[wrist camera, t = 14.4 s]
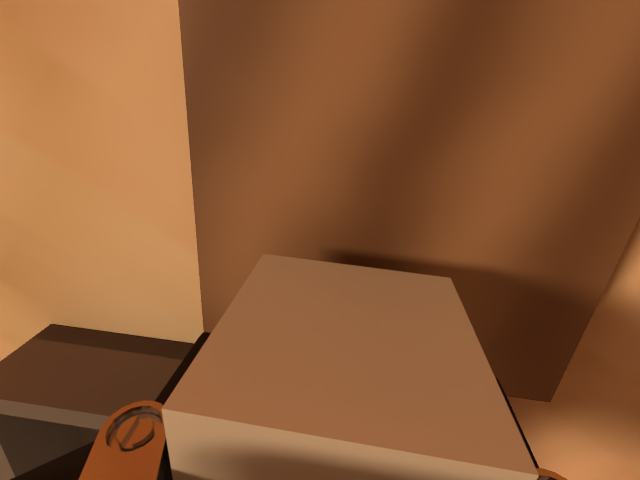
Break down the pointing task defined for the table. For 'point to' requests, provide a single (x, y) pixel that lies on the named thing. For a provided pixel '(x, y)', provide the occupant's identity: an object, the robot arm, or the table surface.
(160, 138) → the table surface
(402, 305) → the beige cube
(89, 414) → the charcoal bin
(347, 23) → the walnut board
